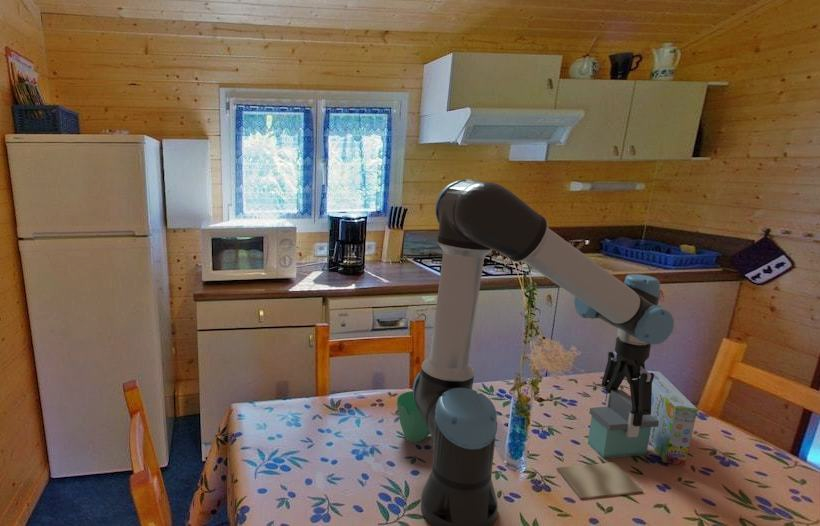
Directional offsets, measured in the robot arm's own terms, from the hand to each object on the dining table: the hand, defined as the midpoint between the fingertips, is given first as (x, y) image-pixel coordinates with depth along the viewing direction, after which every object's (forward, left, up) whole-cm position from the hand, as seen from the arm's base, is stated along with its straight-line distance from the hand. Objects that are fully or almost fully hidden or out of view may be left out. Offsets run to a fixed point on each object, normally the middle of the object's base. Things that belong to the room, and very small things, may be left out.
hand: (620, 426), depth 116 cm
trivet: (-12, -10, -6) cm, 17 cm away
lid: (0, 0, +2) cm, 2 cm away
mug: (-47, +12, -6) cm, 49 cm away
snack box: (+14, +2, -7) cm, 15 cm away
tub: (0, 0, -6) cm, 6 cm away
